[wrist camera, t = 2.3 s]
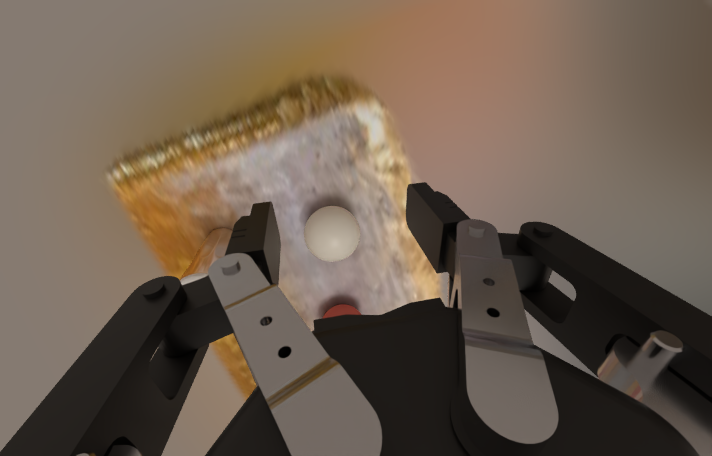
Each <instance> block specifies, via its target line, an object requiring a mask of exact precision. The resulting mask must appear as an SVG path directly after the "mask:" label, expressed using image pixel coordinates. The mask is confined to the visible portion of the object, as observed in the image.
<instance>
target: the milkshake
mask: <svg viewBox="0 0 712 456" xmlns="http://www.w3.org/2000/svg"><path fill="white" fill-rule="evenodd" d="M232 232H233V230H229V229H226V228H219V229H214V230H213V231H212V232H211V233H210V234H209V235H208V236H207V237H206V239H205V241H204V242H203V244H202V246H201V247H200V249H199V250H198V252H197V254H196V255H195V257H194V259H193V260H192V262H191V264H190V265H189V267H188V268H187V269H186V271H185V272H184V274H183V275H182V277H181V278H180V282H181V284H182V285H184V284H187V283H190V282H193V281H196V280H199V279H201V278H204V277H206V276H208V269H209V267H210V266H211V265H212V264H213V263H214V262H215V261H216V260H218V259H219V258H221V257H223V256H225V253H226V250H227V246H228V243H229V240H230V239H231V234H232Z"/></svg>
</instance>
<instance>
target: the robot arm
mask: <svg viewBox="0 0 712 456" xmlns="http://www.w3.org/2000/svg"><path fill="white" fill-rule="evenodd" d="M406 221H407V225H408V228H409V229H410V231H411V233H412V234H413V236H414V237H415V239H416V241H417V242H418V244H419V245H420V247H421V249H422V250H423V252H424V253H425V255H426V257H427V258H428V260H429V261H430V263H431V265H432V266H433V268H434V269H435V271H436V273H443V272H448V273H449V279H448V302H447V303H448V305H447V307H445V305H444V304H443V302H442V300H441V298H435V299H429V300H424V301H418V302H412V303H409V304H406V305H404V306H402V307H399V308H397V309H395V310H392V311H390V312H387V313H385V314H382V315H352V314H345V315H339V316H334V317H328V318H323V319H317V320H314V331H312V332H311V331H310V329H309V328H308V327H307V325H306V324H305V323H304V321H303V320H302V318H301V317H300V316H299V314H298V313H297V312H296V310H295V309H294V308H293V306H292V305H291V303H290V302H289V301H288V299H287V298H286V297H285V295H284V294H283V293H282V291H281V290H280V288H279V287H278V280H279V264H280V248H281V243H280V235H279V230H278V226H277V221H276V217H275V213H274V209H273V205H272V202H263V203H255V204H253V206H252V210H251V214H250V216H243V217H241V218H240V219H239V220H238V221H237V222H236V223H235V225H234V228H233V232H232V234H231V239H230V240H229V243H228V246H227V250H226V253H225V256H223V257H221V258H219V259H218V260H216V261H215V262H214V263H213V264H212V265H211V266H210V267H209V269H208V276H206V277H204V278H201V279H199V280H196V281H193V282H190V283H187V284H184V285H182V284H181V282H180V280H179V279H178V278H176V277H173V276H164V277H159V278H155V279H153V280H150V281H148V282H146V283H144V284H143V285H141V286H139V287H138V288H137V289H136V290H135V291H134V292H133V293H132V294H131V295H130V296H129V297H128V299H127V300H126V301H125V302H124V304H123V305H122V306H121V307H120V308H119V309H118V311H117V312H116V313H115V314H114V316H113V317H112V318H111V319H110V320H109V322H108V323H107V324H106V325H105V326H104V328H103V329H102V330H101V331H100V332H99V334H98V335H97V336H96V337H95V338H94V340H93V341H92V342H91V343H90V344H89V346H88V347H87V348H86V349H85V350H84V352H83V353H82V354H81V355H80V356H79V358H78V359H77V360H76V362H75V363H74V364H73V365H72V366H71V367H70V369H69V370H68V371H67V372H66V373H65V375H64V376H63V377H62V378H61V379H60V381H59V382H58V383H57V384H56V385H55V387H54V388H53V389H52V390H51V392H50V393H49V394H48V395H47V396H46V397H45V399H44V400H43V401H42V402H41V403H40V405H39V406H38V407H37V408H36V410H35V411H34V412H33V413H32V414H31V416H30V417H29V418H28V419H27V420H26V422H25V423H24V424H23V425H22V426H21V428H20V429H19V430H18V431H17V433H16V434H15V435H14V436H13V437H12V439H11V440H10V441H9V442H8V443H7V444H6V446H5V447H4V448H3V449H2V450H1V452H0V456H161V455H162V453H163V450H164V448H165V445H166V443H167V441H168V439H169V436H170V434H171V432H172V429H173V427H174V425H175V422H176V420H177V418H178V416H179V413H180V411H181V409H182V406H183V404H184V402H185V400H186V397H187V395H188V393H189V390H190V388H191V386H192V383H193V381H194V379H195V377H196V374H197V372H198V370H199V367H200V365H201V363H202V361H203V358H204V356H205V354H206V351H207V349H208V347H209V343H211V342H213V341H216V340H218V339H220V338H223V337H225V336H227V335H229V334H232V333H234V336H235V338H236V340H237V342H238V344H239V347H240V349H241V351H242V353H243V356H244V358H245V360H246V362H247V364H248V367H249V369H250V371H251V373H252V376H253V378H254V380H255V383H256V385H257V387H256V388H255V390H254V391H253V392H252V394H251V395H250V396H249V398H248V399H247V400H246V402H245V403H244V404H243V406H242V407H241V409H240V410H239V411H238V412H237V414H236V415H235V416H234V418H233V419H232V420H231V422H230V423H229V424H228V426H227V427H226V428H225V430H224V431H223V432H222V434H221V435H220V436H219V438H218V439H217V440H216V442H215V443H214V444H213V446H212V447H211V448H210V450H209V451H208V452H207V454H206V455H205V456H712V316H710V315H708V314H707V313H705V312H703V311H701V310H700V309H698V308H696V307H694V306H693V305H691V304H689V303H688V302H686V301H684V300H682V299H680V298H679V297H677V296H675V295H673V294H672V293H670V292H668V291H667V290H665V289H663V288H661V287H660V286H658V285H656V284H654V283H653V282H651V281H649V280H648V279H646V278H644V277H642V276H641V275H639V274H637V273H635V272H634V271H632V270H630V269H628V268H627V267H625V266H623V265H621V264H619V263H618V262H616V261H615V260H613V259H611V258H609V257H607V256H606V255H604V254H602V253H601V252H599V251H597V250H595V249H594V248H592V247H590V246H588V245H587V244H585V243H583V242H582V241H580V240H578V239H576V238H575V237H573V236H571V235H569V234H568V233H566V232H564V231H562V230H561V229H559V228H557V227H555V226H553V225H550V224H547V223H542V222H527V223H524V224H523V225H522V226H521V228H520V231H519V234H508V233H507V234H506V233H498V232H497V229H496V228H495V227H494V226H493V225H492V224H490V223H488V222H485V221H482V220H476V219H470V218H469V217H468V216H467V215H466V214H465V213H464V212H463V211H462V210H461V209H460V208H459V207H457V205H456V204H455V203H453V201H452V200H451V199H450V198H449V197H448V196H447V195H445V194H442V193H440V192H438V191H436V192H434V191H433V189H431V187H430V186H429V185H427V183H425V182H424V183H416V184H409V185H408V188H407V203H406ZM552 270H553V271H555V272H556V273H558V274H559V275H560V276H562V277H563V278H564V279H566V280H567V281H569V282H570V283H571V284H572V285H573V286H574V288H575V290H576V299H575V301H573V300H571V299H570V298H569V297H567V296H566V295H565V294H563V293H562V292H561V291H560V290H558V289H557V288H556V287H554V286H553V285H552V284H551V283H549V282H548V280H549V278H550V275H551V273H552ZM524 309H525V310H526V311H527V312H529V314H531V315H532V316H533V317H534V318H535V319H536V320H537V321H538V322H539V323H540V324H541V325H542V326H543V327H545V328H546V329H547V330H548V331H549V332H550V333H551V334H552V335H553V336H554V337H555V338H556V339H558V340H559V341H560V342H561V343H562V344H563V345H564V346H565V347H566V348H567V349H568V350H569V351H570V352H571V353H572V354H574V355H575V356H576V357H577V358H578V359H579V360H580V361H581V362H582V363H583V364H584V365H585V366H587V368H588V369H590V370H591V371H592V372H593V373H594V374H595V375H596V376H597V377H598V378H599V379H597V378H595V377H593V376H591V375H590V374H588V373H586V372H584V371H582V370H580V369H578V368H577V367H574V366H573V365H571V364H569V363H567V362H565V361H563V360H562V359H560V358H558V357H556V356H554V355H552V354H550V353H549V352H547V351H545V350H543V349H541V348H539V347H537V346H536V345H534V344H533V341H532V337H531V333H530V330H529V326H528V322H527V318H526V314H525V310H524ZM158 347H159V348H158ZM157 348H158V349H157ZM156 349H157V351H156ZM155 351H156V353H155ZM154 353H155V354H154ZM153 354H154V356H153ZM152 356H153V358H152ZM151 358H152V360H151ZM150 360H151V361H150Z"/></svg>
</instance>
